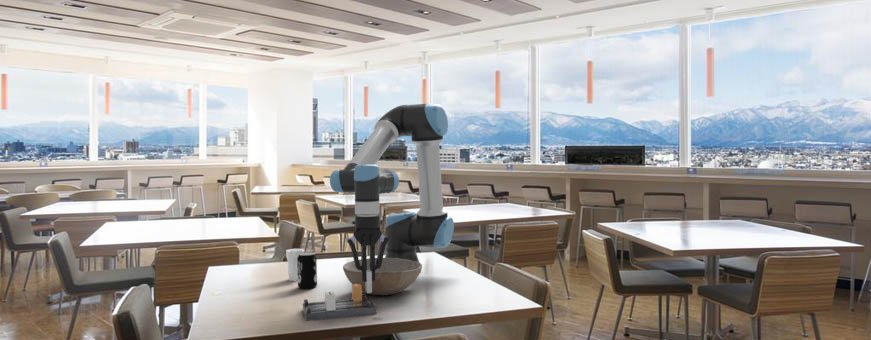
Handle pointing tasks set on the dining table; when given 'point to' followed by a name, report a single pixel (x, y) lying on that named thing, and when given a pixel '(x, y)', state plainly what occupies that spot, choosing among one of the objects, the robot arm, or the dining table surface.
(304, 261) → the beverage can
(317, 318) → the panel
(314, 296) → the dining table surface
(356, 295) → the orange fader
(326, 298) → the white fader
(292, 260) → the cup
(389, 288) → the bowl
